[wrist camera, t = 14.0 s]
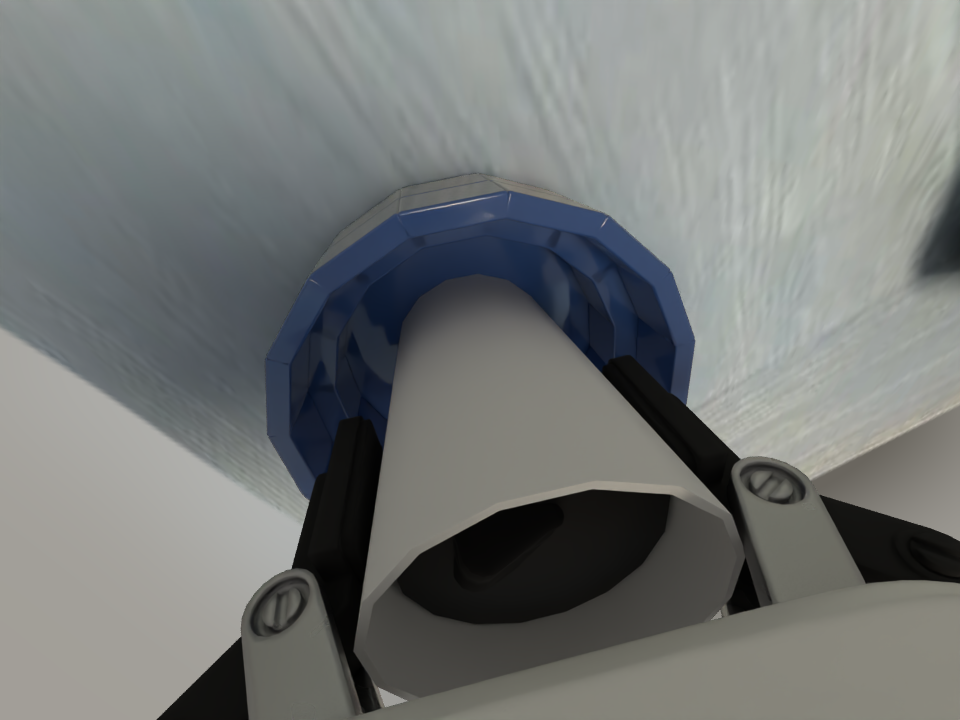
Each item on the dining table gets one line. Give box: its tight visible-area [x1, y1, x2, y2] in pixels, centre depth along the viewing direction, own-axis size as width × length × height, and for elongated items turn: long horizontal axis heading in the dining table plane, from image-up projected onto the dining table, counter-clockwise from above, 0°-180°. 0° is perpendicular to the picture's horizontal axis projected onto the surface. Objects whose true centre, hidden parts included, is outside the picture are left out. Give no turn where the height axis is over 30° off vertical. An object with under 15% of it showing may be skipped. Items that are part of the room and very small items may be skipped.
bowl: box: [265, 173, 695, 500], centre depth 14 cm, size 12×12×5 cm
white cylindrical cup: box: [354, 274, 745, 701], centre depth 11 cm, size 7×7×10 cm
